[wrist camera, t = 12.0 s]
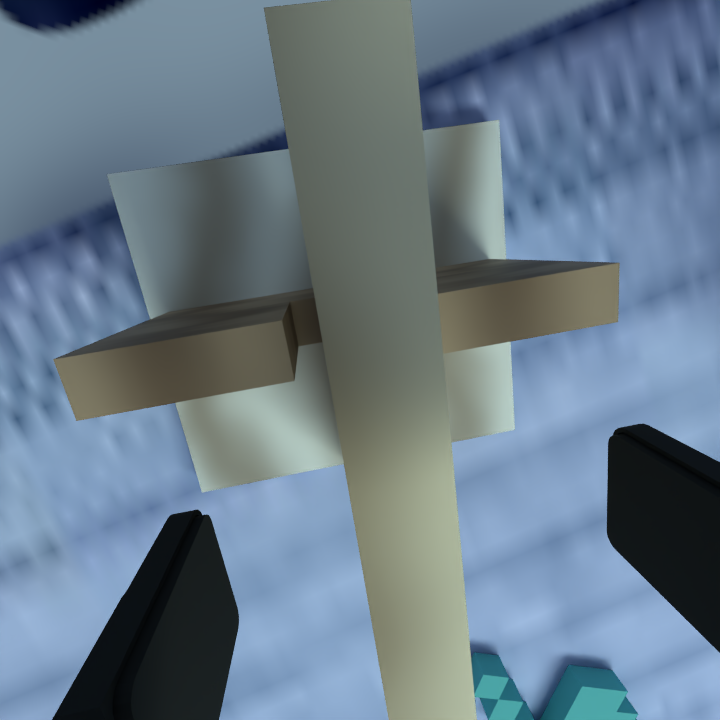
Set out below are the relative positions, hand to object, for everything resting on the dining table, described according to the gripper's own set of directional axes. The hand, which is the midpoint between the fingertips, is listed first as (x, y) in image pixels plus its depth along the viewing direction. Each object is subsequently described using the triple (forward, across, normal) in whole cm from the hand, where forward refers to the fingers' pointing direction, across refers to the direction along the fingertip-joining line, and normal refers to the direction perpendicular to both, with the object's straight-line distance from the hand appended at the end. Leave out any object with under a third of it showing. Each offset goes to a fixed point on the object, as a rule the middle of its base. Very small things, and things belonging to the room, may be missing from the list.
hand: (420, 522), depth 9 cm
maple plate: (+15, +1, -2) cm, 15 cm away
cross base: (+16, +1, -2) cm, 16 cm away
